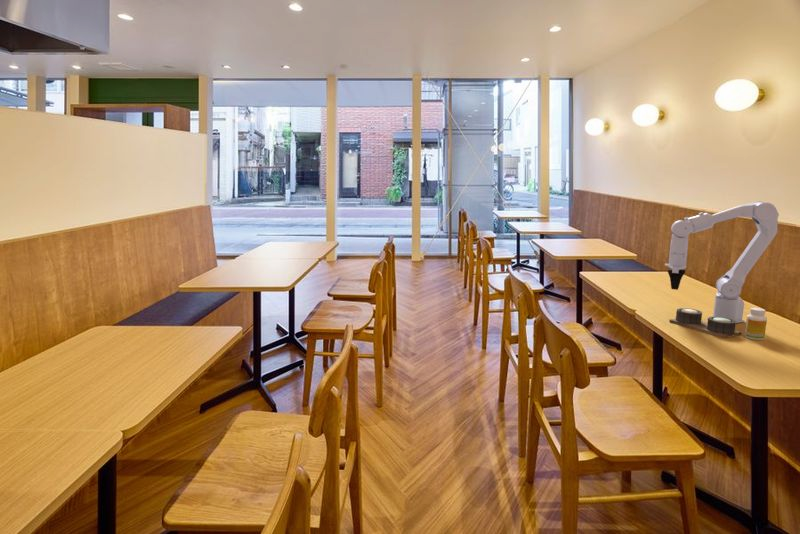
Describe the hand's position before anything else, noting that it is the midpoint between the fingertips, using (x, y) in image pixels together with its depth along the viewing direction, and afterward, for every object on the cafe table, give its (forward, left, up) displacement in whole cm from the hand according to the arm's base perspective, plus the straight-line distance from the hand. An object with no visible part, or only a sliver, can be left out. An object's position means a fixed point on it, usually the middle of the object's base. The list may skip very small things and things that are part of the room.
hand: (674, 289), depth 190 cm
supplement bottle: (-2, +29, -11) cm, 31 cm away
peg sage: (+3, +21, -9) cm, 23 cm away
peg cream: (+3, +9, -9) cm, 13 cm away
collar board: (+3, +15, -10) cm, 19 cm away
